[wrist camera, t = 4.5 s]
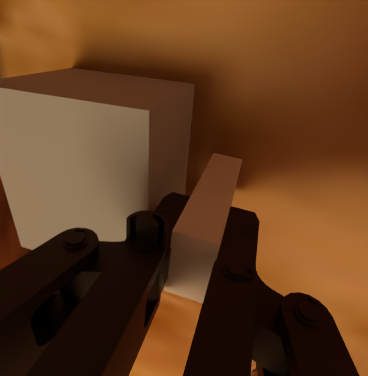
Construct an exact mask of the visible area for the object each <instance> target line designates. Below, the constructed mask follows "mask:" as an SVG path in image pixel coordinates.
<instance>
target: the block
mask: <svg viewBox="0 0 368 376" xmlns="http://www.w3.org/2000/svg"><path fill="white" fill-rule="evenodd" d="M194 89H195V83H187V82H179V81H171V80H163V79H156V78H148V77H140V76H132V75H124V74H116V73H109V72H101V71H93V70H85V69H77V68H68V69H62V70H55V71H49V72H43V73H36V74H30V75H23V76H17V77H11V78H4V79H0V176H1V180H2V183H3V186H4V190H5V193H6V197H7V200H8V203H9V207H10V210H11V213H12V217H13V220H14V223H15V227H16V230H17V233H18V237H19V240H20V244H21V247H24V248H28V249H31V250H33V249H35V248H37V247H38V246H40V245H42V244H43V243H45V242H46V241H48V240H50V239H51V238H53V237H54V236H56V235H58V234H59V233H61V232H63V231H65V230H68V229H72V228H77V227H78V228H87V229H90V230H93V231H94V232H95V233H96V234H97V236H98V239H99V241H110V242H118V241H125V239H126V219H127V217H128V216H129V215H131V214H132V213H135V212H138V211H145V210H148V211H155V209H156V207H157V206H158V205H159V203H160V202H161V200H162V199H163V197H164V196H166V195H168V194H170V193H172V192H175V193H179V194H183V195H185V190H186V179H187V168H188V157H189V145H190V134H191V123H192V112H193V100H194Z"/></svg>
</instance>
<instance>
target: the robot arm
mask: <svg viewBox="0 0 368 376" xmlns="http://www.w3.org/2000/svg"><path fill="white" fill-rule="evenodd" d="M242 161H243V159H239V158H235V157H230V156H226V155H222V154H217V153H213V155H212V157H211V159H210V161H209V162H208V164H207V166H206V168H205V170H204V172H203V174H202V176H201V178H200V179H199V181H198V183H197V185H196V187H195V189H194V191H193V193H192V195H191V197H190V196H187V195H183V194H179V193H175V192H172V193H170V194H168V195H166V196H164V197H163V199H162V200H161V202H160V203H159V205H158V206H157V207H156V209H155V211H148V210H145V211H138V212H135V213H132V214H131V215H129V216H128V217H127V219H126V239H125V241H118V242H110V241H99V239H98V236H97V234H96V233H95V232H94V231H93V230H90V229H87V228H78V227H77V228H72V229H68V230H65V231H63V232H61V233H59V234H58V235H56V236H54V237H53V238H51V239H50V240H48V241H46V242H45V243H43V244H42V245H40V246H38V247H37V248H35V249H33V250H32V251H30V252H29V253H27V254H25V255H24V256H22V257H21V258H19V259H17V260H16V261H14V262H12V263H11V264H9V265H8V266H6V267H4V268H3V269H1V270H0V376H129V373H130V371H131V369H132V366H133V364H134V362H135V359H136V357H137V355H138V352H139V350H140V348H141V345H142V343H143V341H144V339H145V336H146V334H147V332H148V329H149V327H150V325H151V322H152V320H153V318H154V315H155V313H156V311H157V308H158V306H159V303H160V297H161V292H162V290H163V288H164V285H165V291H167V292H170V293H173V294H176V295H179V296H182V297H185V298H188V299H191V300H194V301H197V302H200V303H203V304H202V308H201V312H200V315H199V319H198V323H197V326H196V330H195V334H194V337H193V341H192V345H191V348H190V352H189V355H188V359H187V363H186V366H185V370H184V374H183V376H251V363H252V360H254V361H255V362H256V368H257V373H258V376H359V374H358V372H357V369H356V367H355V365H354V363H353V361H352V359H351V356H350V354H349V352H348V350H347V348H346V345H345V343H344V341H343V339H342V337H341V334H340V332H339V330H338V328H337V326H336V323H335V321H334V319H333V317H332V315H331V314H330V312H329V311H328V309H327V308H326V307H325V306H324V305H323V304H322V303H321V302H320V301H318V300H317V299H315V298H313V297H311V296H310V295H307V294H303V293H300V292H299V293H290V294H288V295H286V296H285V297H284V296H282V295H281V294H279V293H277V292H276V291H274V290H272V289H271V288H270V287H268V286H267V285H266V284H265V283H264V282H263V281H262V280H261V279H260V277H259V276H258V274H257V271H256V253H257V242H258V230H259V220H258V218H257V216H256V214H255V212H251V211H247V210H243V209H240V208H236V207H232V206H231V204H232V200H233V196H234V192H235V188H236V184H237V180H238V176H239V172H240V168H241V165H242Z"/></svg>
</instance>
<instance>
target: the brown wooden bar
mask: <svg viewBox="0 0 368 376" xmlns="http://www.w3.org/2000/svg"><path fill="white" fill-rule="evenodd" d="M27 253H29V249H28V248H24V247H21V244H20V240H19V237H18V233H17V230H16V227H15V223H14V220H13V217H12V213H11V210H10V207H9V203H8V200H7V197H6V193H5V190H4V186H3V183H2V180H1V176H0V270H1V269H3V268H4V267H6V266H8V265H9V264H11V263H12V262H14V261H16V260H17V259H19V258H21V257H22V256H24V255H25V254H27Z"/></svg>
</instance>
